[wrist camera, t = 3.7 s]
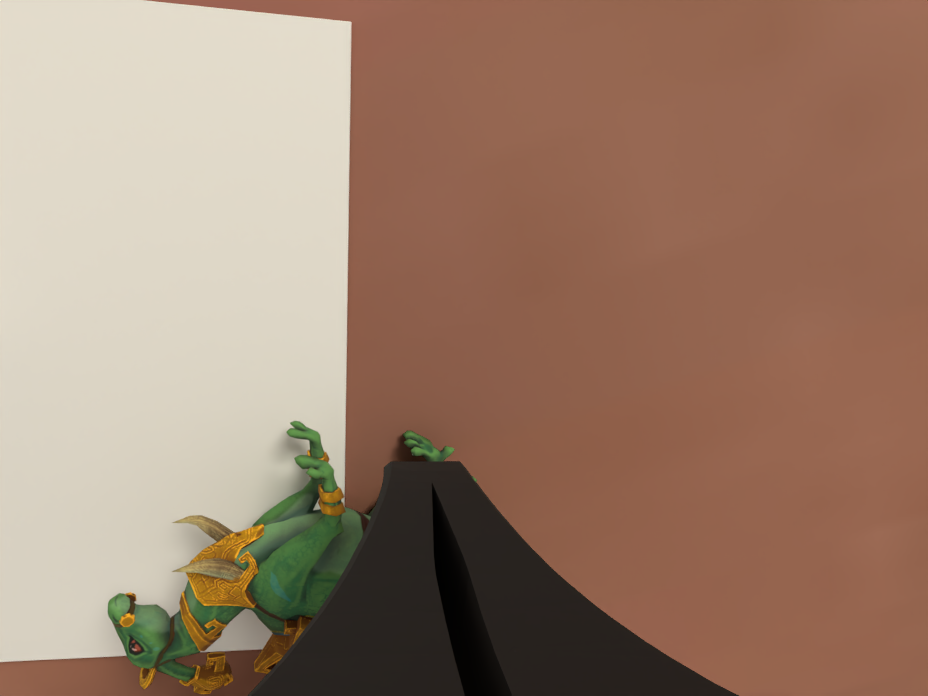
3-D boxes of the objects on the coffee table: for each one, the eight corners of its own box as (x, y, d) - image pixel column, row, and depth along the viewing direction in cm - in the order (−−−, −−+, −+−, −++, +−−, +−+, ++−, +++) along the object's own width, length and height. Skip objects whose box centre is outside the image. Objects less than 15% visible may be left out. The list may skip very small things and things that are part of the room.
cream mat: (342, 634, 19) (342, 645, 18) (3, 649, 17) (-5, 662, 17) (351, 23, 13) (350, 21, 12) (-169, -31, 11) (-188, -34, 11)
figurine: (148, 464, 11) (64, 810, 13) (652, 510, 17) (539, 746, 19) (152, 388, 14) (82, 686, 16) (587, 450, 19) (494, 662, 21)
